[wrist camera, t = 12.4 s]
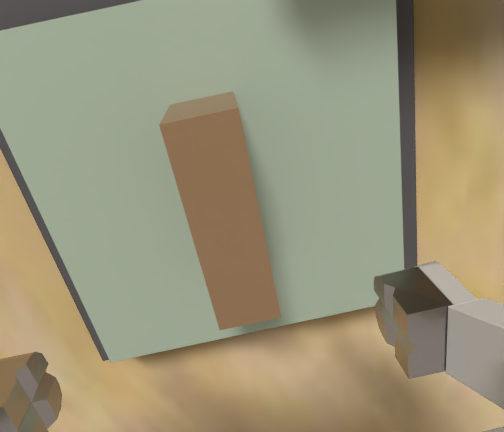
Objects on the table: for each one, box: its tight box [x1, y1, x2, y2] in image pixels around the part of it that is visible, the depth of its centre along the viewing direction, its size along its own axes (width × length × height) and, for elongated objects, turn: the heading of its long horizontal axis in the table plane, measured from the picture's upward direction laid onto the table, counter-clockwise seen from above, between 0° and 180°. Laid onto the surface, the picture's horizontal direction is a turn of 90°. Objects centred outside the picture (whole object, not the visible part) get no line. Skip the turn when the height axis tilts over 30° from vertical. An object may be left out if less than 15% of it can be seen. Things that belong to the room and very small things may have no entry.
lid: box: [0, 0, 404, 362], centre depth 16 cm, size 15×15×6 cm
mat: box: [0, 0, 417, 361], centre depth 19 cm, size 18×18×1 cm
